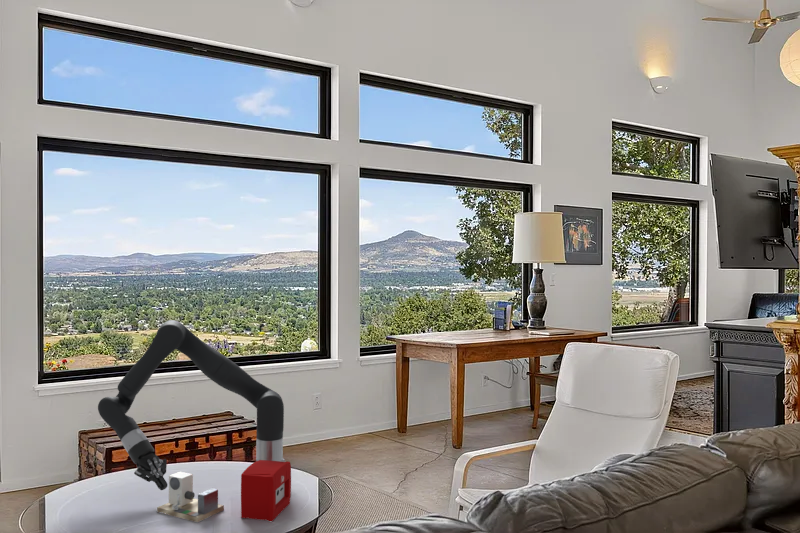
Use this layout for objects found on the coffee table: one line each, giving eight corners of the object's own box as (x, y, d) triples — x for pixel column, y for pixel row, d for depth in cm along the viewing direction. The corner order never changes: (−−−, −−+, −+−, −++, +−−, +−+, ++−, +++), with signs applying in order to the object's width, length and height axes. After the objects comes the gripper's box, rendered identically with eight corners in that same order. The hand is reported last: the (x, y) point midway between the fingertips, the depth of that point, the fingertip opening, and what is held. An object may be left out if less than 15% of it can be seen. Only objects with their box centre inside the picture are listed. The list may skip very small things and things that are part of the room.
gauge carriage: (161, 506, 238) (161, 478, 237) (179, 498, 245) (180, 471, 245) (178, 510, 234) (179, 482, 234) (197, 502, 242) (197, 475, 241)
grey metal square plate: (197, 513, 234) (197, 494, 234) (211, 506, 240) (212, 488, 239) (203, 514, 233) (204, 495, 233) (217, 508, 238) (218, 489, 238)
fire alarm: (273, 522, 232) (273, 474, 231) (240, 518, 234) (241, 471, 233) (291, 503, 248) (291, 459, 247) (260, 501, 250) (260, 456, 249)
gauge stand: (157, 512, 238) (157, 506, 238) (184, 500, 249) (184, 495, 249) (197, 522, 230) (197, 516, 230) (223, 509, 241) (223, 504, 241)
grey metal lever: (175, 509, 235) (175, 495, 235) (179, 507, 237) (179, 493, 237) (177, 510, 235) (177, 495, 235) (181, 508, 236) (181, 493, 236)
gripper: (127, 444, 243) (155, 487, 237) (158, 434, 254) (185, 476, 249) (116, 457, 245) (143, 501, 240) (147, 447, 257) (173, 489, 252)
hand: (164, 488), depth 245 cm, fingers closed
